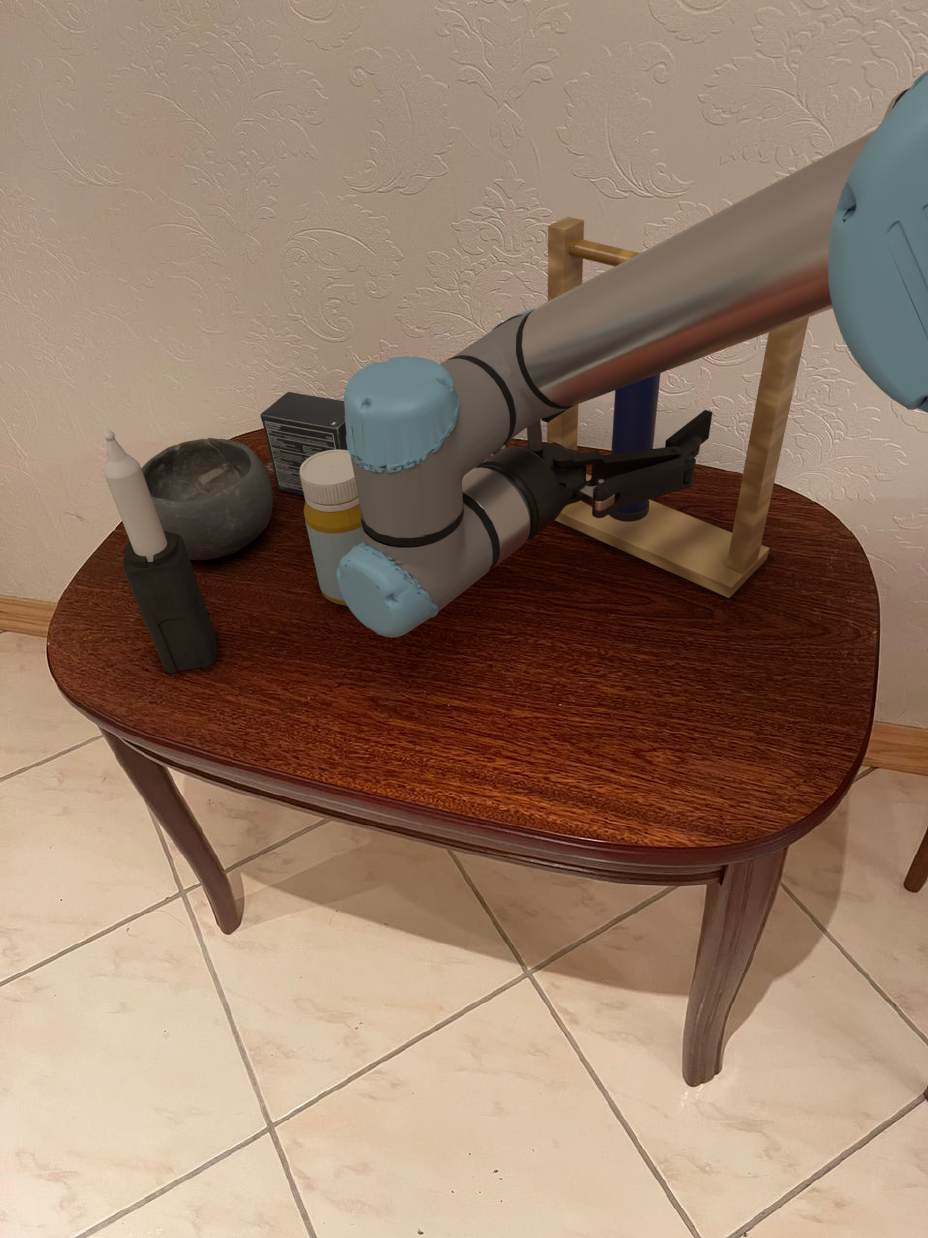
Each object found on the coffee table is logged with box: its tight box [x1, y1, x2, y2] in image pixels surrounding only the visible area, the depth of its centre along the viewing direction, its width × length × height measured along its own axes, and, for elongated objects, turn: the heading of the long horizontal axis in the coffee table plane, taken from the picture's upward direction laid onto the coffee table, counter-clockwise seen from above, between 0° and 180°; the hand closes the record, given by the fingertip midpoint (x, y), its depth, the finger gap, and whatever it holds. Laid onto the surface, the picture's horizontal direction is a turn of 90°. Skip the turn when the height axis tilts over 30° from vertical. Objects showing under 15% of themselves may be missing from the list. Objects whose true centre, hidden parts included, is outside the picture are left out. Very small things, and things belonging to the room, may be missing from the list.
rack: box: [546, 216, 810, 599], centre depth 87 cm, size 25×8×31 cm, turn 48°
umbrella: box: [609, 373, 662, 522], centre depth 84 cm, size 10×4×26 cm, turn 138°
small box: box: [259, 391, 348, 497], centre depth 105 cm, size 11×6×10 cm, turn 66°
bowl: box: [141, 437, 274, 561], centre depth 98 cm, size 15×15×10 cm
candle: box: [103, 430, 217, 675], centre depth 79 cm, size 5×5×25 cm
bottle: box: [299, 450, 364, 607], centre depth 89 cm, size 7×7×15 cm
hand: (643, 401), depth 84 cm, fingers open, 13 cm apart
